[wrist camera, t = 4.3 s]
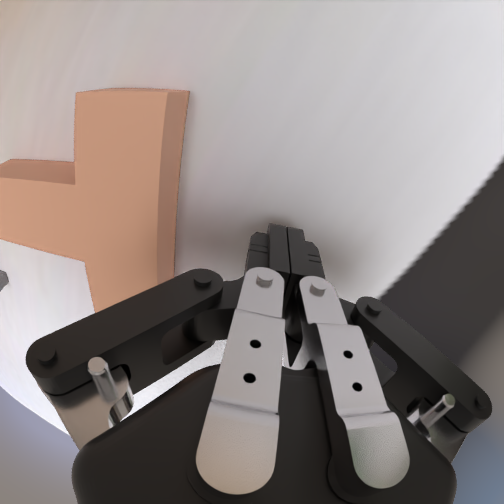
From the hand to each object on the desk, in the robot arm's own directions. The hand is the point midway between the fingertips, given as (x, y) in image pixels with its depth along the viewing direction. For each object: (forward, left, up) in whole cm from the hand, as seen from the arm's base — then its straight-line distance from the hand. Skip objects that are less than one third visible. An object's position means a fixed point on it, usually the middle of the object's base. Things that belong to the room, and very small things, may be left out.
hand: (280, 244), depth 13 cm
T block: (0, -11, -2) cm, 11 cm away
